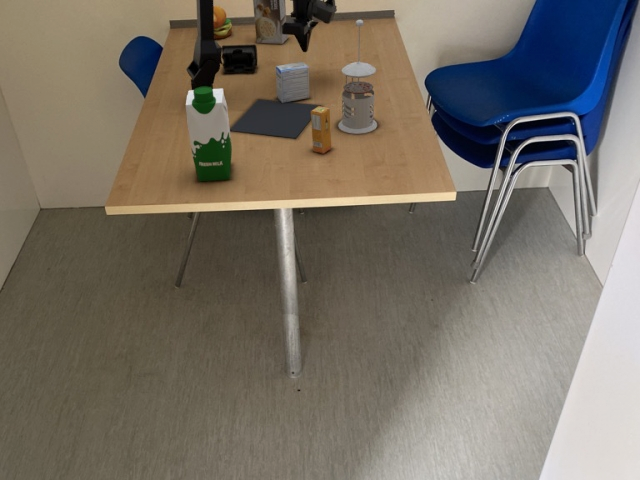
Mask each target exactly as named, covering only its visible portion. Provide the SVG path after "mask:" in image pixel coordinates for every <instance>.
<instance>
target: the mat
mask: <svg viewBox="0 0 640 480" xmlns="http://www.w3.org/2000/svg"><path fill="white" fill-rule="evenodd" d="M318 106H320V107H322V105H321V104H320V105H319V104H311V103H302V102H293V101H290V102H285V103H282V102H281V101H280V100H272V99H271V100H270V99H262V98H259V99H257V100H256V101H255V102H254V103H253V104H252V105H251V107H249V108H248V109H247V111H246V112H245V113H244V114H243V115H242V116H241V117H240V118H239V119H238V120H237V121H236V122H235V123H234V124H233V125H232V126H231V127H230V132H234V133H235V132H236V133H243V134H244V133H245V134H253V135H260V136H261V135H262V136H270V137H278V138H286V139H294V140H296V139H297V138H298V137H299V136H300V134H301V133H302V132H303V131H304V129H305V128H306V126H307V125H308V124H309V123H310V122H311V111H312V110H314V109H315V108H317V107H318Z"/></svg>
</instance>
